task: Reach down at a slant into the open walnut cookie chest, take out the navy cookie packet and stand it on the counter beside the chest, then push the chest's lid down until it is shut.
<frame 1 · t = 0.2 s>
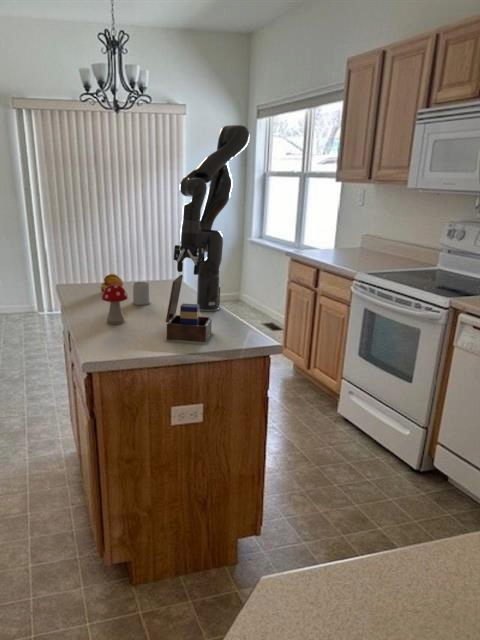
hand: (187, 273, 215), 17 cm above the counter, tool pointing down, fingers open, 8 cm apart
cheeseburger: (112, 293, 257), on the counter
chest: (189, 337, 192), on the counter
cookie packet: (189, 335, 191), point 1 cm above the counter, touching chest
cup: (140, 303, 240), on the counter
lid: (174, 298, 187), point 14 cm above the counter, hinge at 80.0°
decorative mushroom: (115, 323, 209), on the counter
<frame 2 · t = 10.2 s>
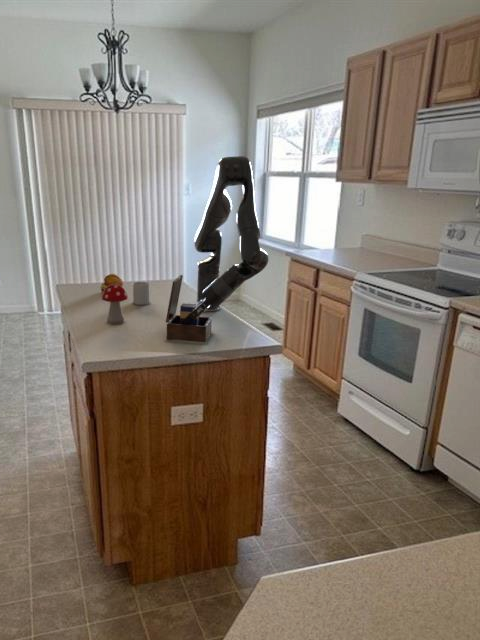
hand: (184, 322, 190), 6 cm above the counter, tool tilted 45°, fingers closed on cookie packet, 4 cm apart
cookie packet: (189, 335, 191), point 1 cm above the counter, touching chest, gripper
everything else where it was.
when the fingers open (5 cm above the counter, at t = 18.1 s): cookie packet stays where it is, on the counter.
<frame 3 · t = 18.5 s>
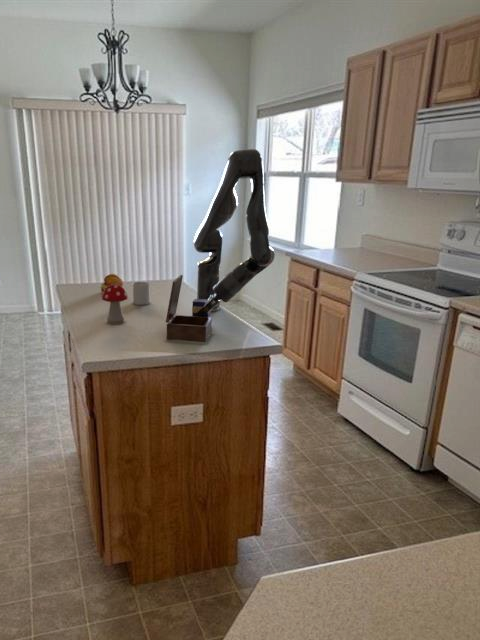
hand: (197, 315, 201), 5 cm above the counter, tool tilted 45°, fingers open, 8 cm apart
cookie packet: (200, 329, 202), on the counter
everything else where it was.
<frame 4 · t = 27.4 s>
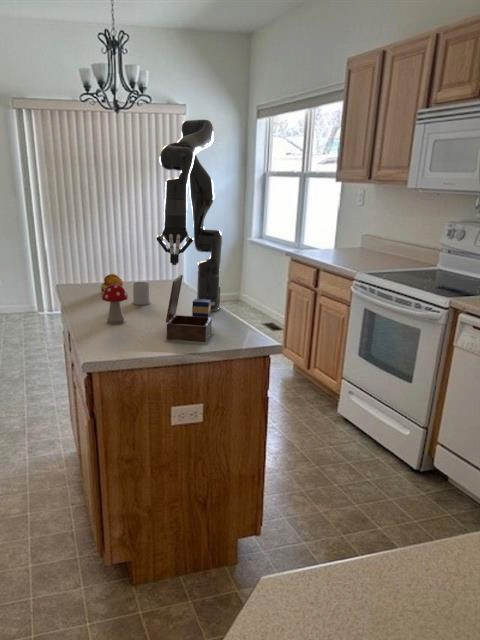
hand: (174, 264, 184), 26 cm above the counter, tool pointing down, fingers closed
nothing on the counter moved.
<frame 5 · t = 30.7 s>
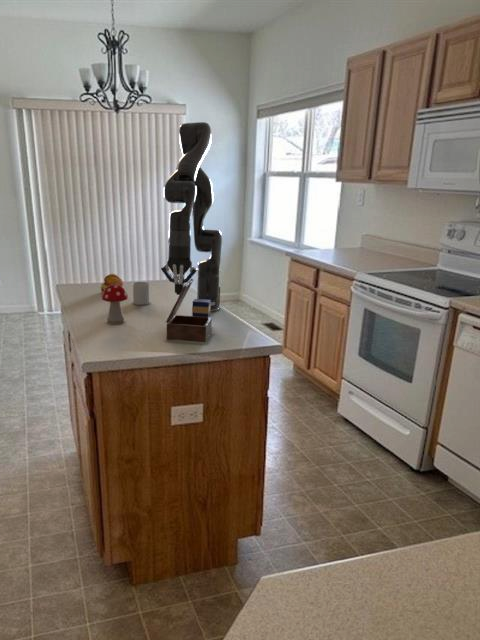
hand: (179, 294, 186), 16 cm above the counter, tool pointing down, fingers closed
lid: (179, 300, 187), point 13 cm above the counter, hinge at 63.7°, touching gripper
everything else where it was.
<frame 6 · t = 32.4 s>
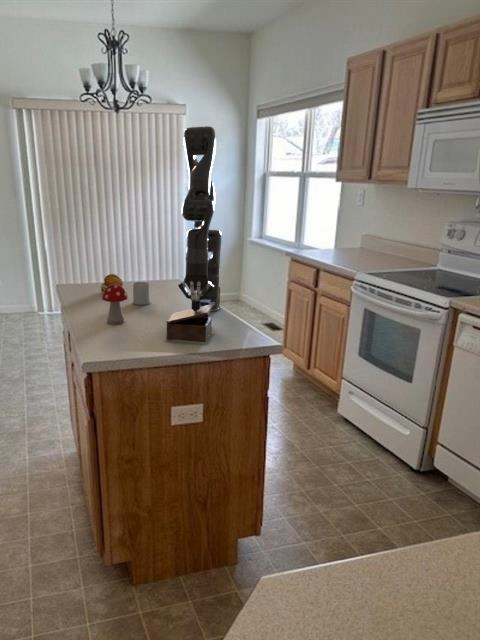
hand: (195, 310, 187), 10 cm above the counter, tool pointing down, fingers closed
lid: (190, 313, 188), point 9 cm above the counter, hinge at 16.4°, touching gripper
everything else where it was.
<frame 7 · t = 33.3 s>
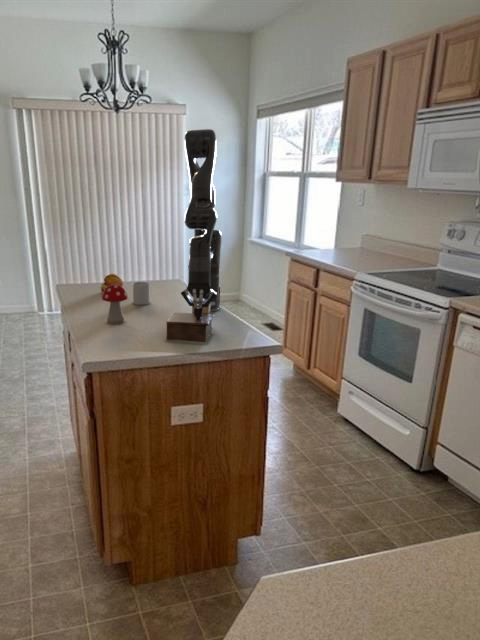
hand: (198, 318, 188), 8 cm above the counter, tool pointing down, fingers closed
lid: (190, 318, 189), point 7 cm above the counter, hinge at 1.5°, touching gripper
everything else where it was.
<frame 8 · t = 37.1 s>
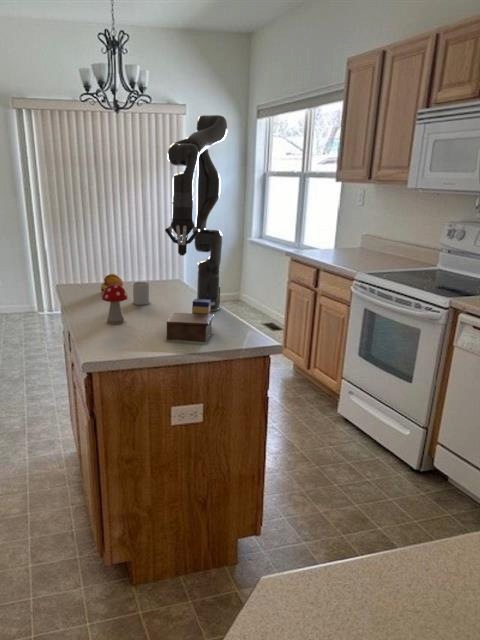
hand: (182, 255, 195), 27 cm above the counter, tool pointing down, fingers closed
lid: (190, 318, 189), point 7 cm above the counter, hinge at 1.4°
everything else where it was.
at the end: cookie packet 0.1 cm from the target spot, on the counter; cookie packet tilted 0°; lid at +1° (first picture: +80°) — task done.
